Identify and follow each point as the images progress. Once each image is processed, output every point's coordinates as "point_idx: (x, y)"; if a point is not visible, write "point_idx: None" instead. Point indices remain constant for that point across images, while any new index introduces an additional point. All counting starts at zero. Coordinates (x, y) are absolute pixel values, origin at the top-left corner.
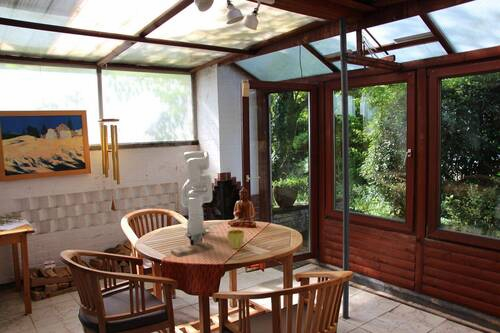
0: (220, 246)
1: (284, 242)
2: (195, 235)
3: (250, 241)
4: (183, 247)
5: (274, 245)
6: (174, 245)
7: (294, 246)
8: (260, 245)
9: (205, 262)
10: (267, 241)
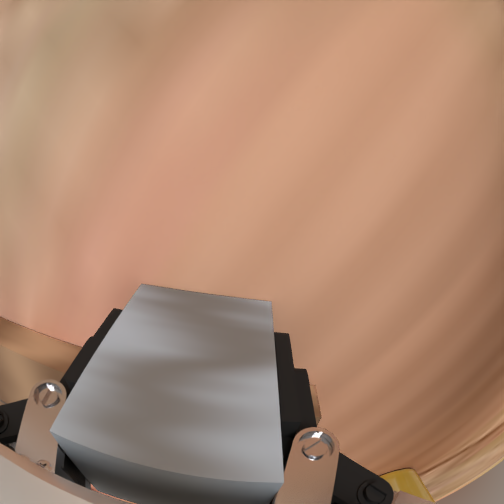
0: (359, 454)
1: (479, 471)
2: (165, 488)
3: (495, 431)
4: (8, 354)
5: (442, 489)
6: (31, 35)
7: (438, 499)
8: (435, 483)
9: (109, 495)
10: (492, 451)
